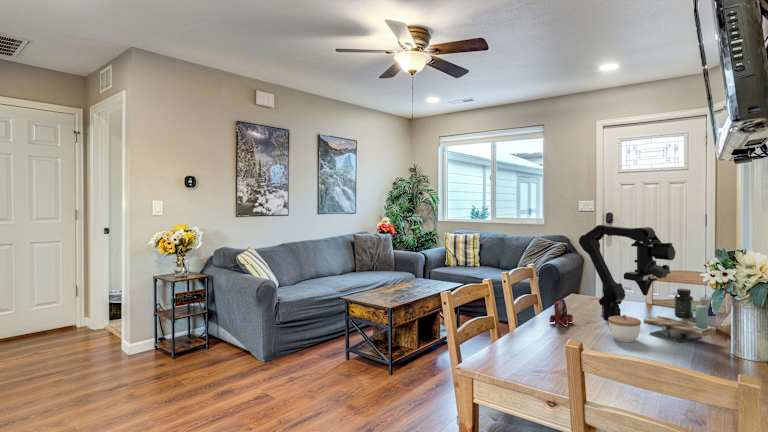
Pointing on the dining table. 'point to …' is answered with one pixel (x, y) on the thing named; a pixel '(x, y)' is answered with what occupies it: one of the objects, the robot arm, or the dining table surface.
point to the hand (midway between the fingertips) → (645, 295)
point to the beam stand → (673, 334)
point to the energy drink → (711, 317)
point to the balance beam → (678, 326)
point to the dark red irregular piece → (561, 313)
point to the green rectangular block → (701, 319)
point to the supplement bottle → (683, 304)
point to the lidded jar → (624, 328)
